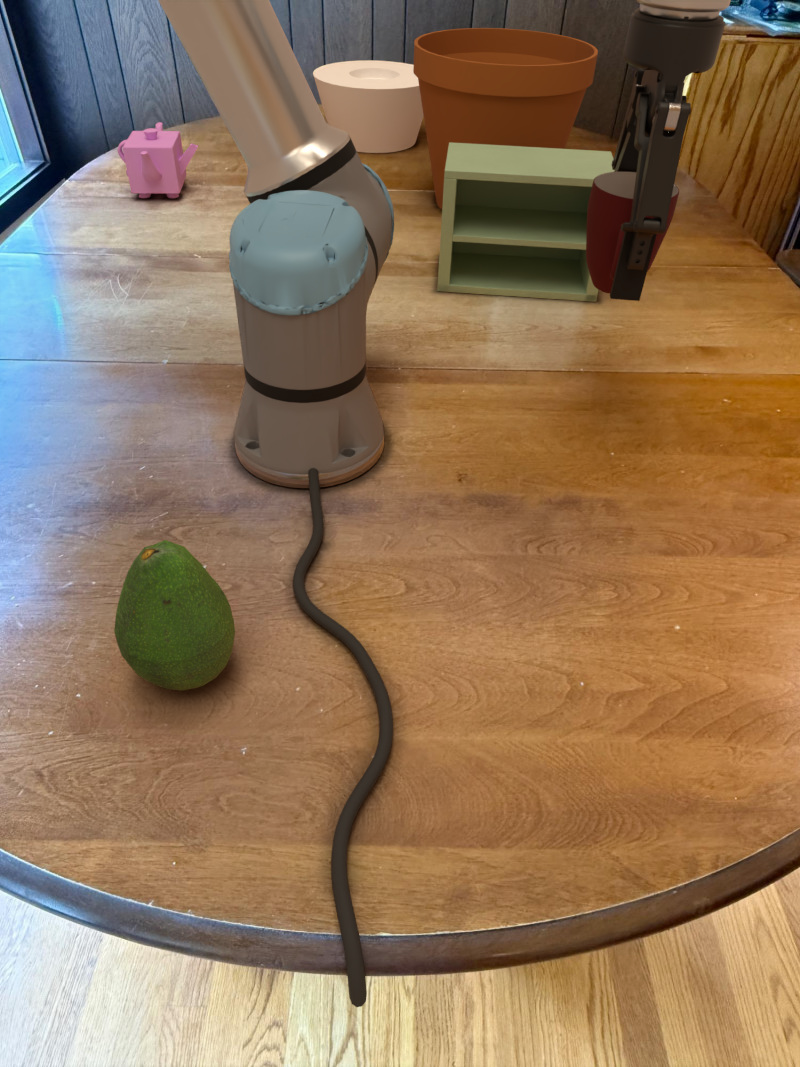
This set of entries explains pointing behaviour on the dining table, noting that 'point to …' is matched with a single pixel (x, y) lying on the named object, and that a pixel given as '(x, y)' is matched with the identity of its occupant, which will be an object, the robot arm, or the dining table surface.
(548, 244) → the shelf unit
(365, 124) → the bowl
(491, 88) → the flowerpot
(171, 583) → the fruit
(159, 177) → the teapot
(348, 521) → the dining table surface
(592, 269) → the mug
